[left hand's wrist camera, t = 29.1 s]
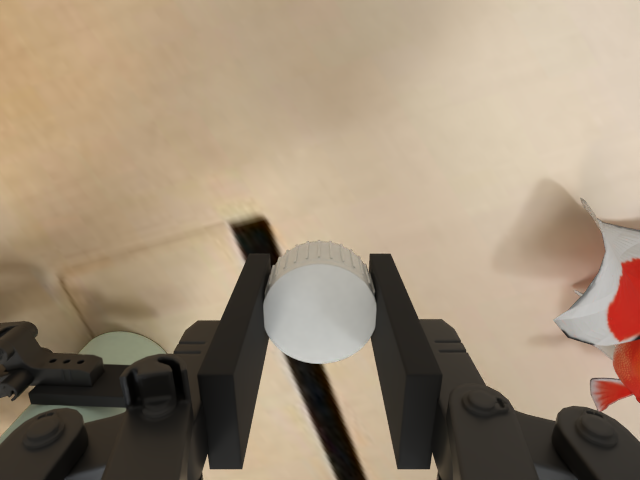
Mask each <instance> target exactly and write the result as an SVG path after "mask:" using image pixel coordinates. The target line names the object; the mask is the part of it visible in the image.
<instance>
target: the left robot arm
mask: <svg viewBox="0 0 640 480" xmlns="http://www.w3.org/2000/svg"><path fill="white" fill-rule="evenodd" d="M369 273H370V275H371V279H372V282H373V286H374V290H375V294H374V296H375V300H376V304H377V305H376V323H375V330H374V332H373V334H372V336H371V342H372V346H373V351H374V356H375V361H376V366H377V371H378V376H379V381H380V386H381V390H382V395H383V400H384V405H385V410H386V415H387V420H388V425H389V429H390V434H391V439H392V444H393V449H394V454H395V459H396V464H397V469H430V464H431V457H432V453H433V456H434V459H435V463H436V466H437V469H438V475H437V480H640V442H639V441H638V440H637V439H636V438H635V437H634V436H633V435H632V434H631V433H630V432H629V431H628V430H627V429H626V428H625V427H624V426H623V425H621V424H620V423H619V422H618V421H616V420H615V419H613V418H611V417H609V416H608V415H606V414H604V413H602V412H599V411H596V410H593V409H590V408H587V407H578V406H571V407H567V408H563V409H562V410H561V411H560V412H559V413H558V415H557V418H556V421H552V420H548V419H543V418H539V417H535V416H531V415H527V414H524V413H521V412H518V411H516V410H514V408H513V407H512V405H511V403H510V402H509V400H508V399H507V398H505V397H504V396H503V395H502V394H501V393H499V392H498V391H496V390H494V389H492V388H490V387H488V386H486V385H485V383H484V381H483V379H482V378H481V376H480V374H479V372H478V370H477V369H476V367H475V365H474V363H473V362H472V360H471V358H470V356H469V354H468V353H466V349H465V347H464V345H463V344H462V343H461V340H460V338H459V337H458V335H457V333H456V331H455V329H453V328H452V327H451V326H450V325H448V324H447V323H446V322H445V321H443V320H442V319H418V316H417V314H416V312H415V309H414V307H413V305H412V302H411V300H410V298H409V296H408V293H407V291H406V289H405V286H404V284H403V282H402V279H401V277H400V275H399V272H398V270H397V268H396V265H395V263H394V261H393V258H392V256H391V254H370V261H369ZM270 274H271V266H270V254H249V255H248V258H247V260H246V262H245V265H244V267H243V269H242V272H241V274H240V276H239V279H238V281H237V283H236V286H235V288H234V290H233V293H232V295H231V297H230V300H229V302H228V304H227V307H226V309H225V311H224V313H223V316H222V318H221V320H220V321H197V322H196V323H194V324H193V325H192V326H191V327H189V328H188V329H187V330H186V331H185V332H184V334H183V336H182V338H181V340H180V341H179V344H178V345H177V347H176V348H175V350H174V354H156V355H151V356H147V357H145V358H142V359H140V360H138V361H136V362H134V363H133V364H131V365H130V366H129V367H127V368H126V369H125V370H124V371H123V373H122V374H121V376H120V377H119V379H120V384H121V388H122V393H123V397H124V402H125V406H126V411H125V412H124V413H121V414H118V415H115V416H111V417H107V418H103V419H99V420H95V421H91V422H86V423H84V419H83V416H82V415H81V414H80V413H79V412H78V411H77V410H75V409H70V408H58V409H52V410H49V411H46V412H43V413H40V414H38V415H36V416H34V417H32V418H30V419H28V420H27V421H25V422H23V423H22V424H21V425H20V426H19V427H17V428H16V429H15V430H14V431H13V432H12V433H11V434H10V435H9V436H8V437H7V438H6V439H5V440H4V441H3V442H2V443H1V444H0V480H203V475H202V470H203V467H204V464H205V460H206V457H207V454H208V459H209V466H210V469H242V467H243V462H244V458H245V453H246V448H247V443H248V438H249V433H250V428H251V423H252V418H253V414H254V409H255V404H256V399H257V394H258V389H259V384H260V379H261V375H262V370H263V365H264V360H265V355H266V350H267V345H268V340H269V336H268V335H267V332H266V330H265V327H264V311H263V302H264V298H265V290H266V287H267V283H268V279H269V275H270Z"/></svg>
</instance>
